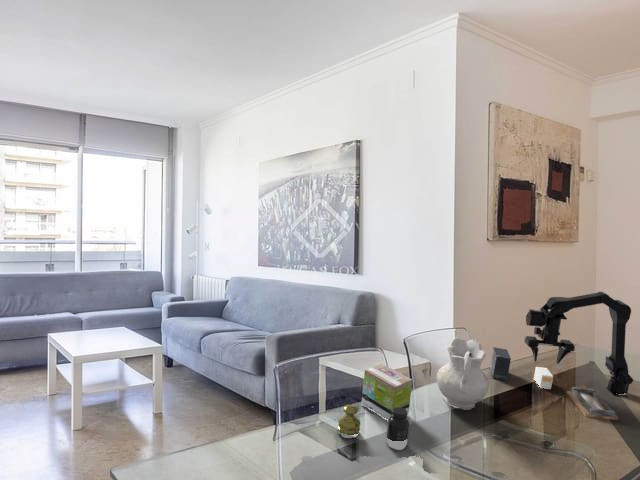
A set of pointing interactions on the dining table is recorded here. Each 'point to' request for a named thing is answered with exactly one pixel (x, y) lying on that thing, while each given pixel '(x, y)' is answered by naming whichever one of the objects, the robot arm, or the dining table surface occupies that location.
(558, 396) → the dining table surface
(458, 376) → the ceramic pitcher
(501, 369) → the small box
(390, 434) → the supplement bottle
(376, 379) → the tea box
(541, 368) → the block
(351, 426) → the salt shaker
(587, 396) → the rail mount
